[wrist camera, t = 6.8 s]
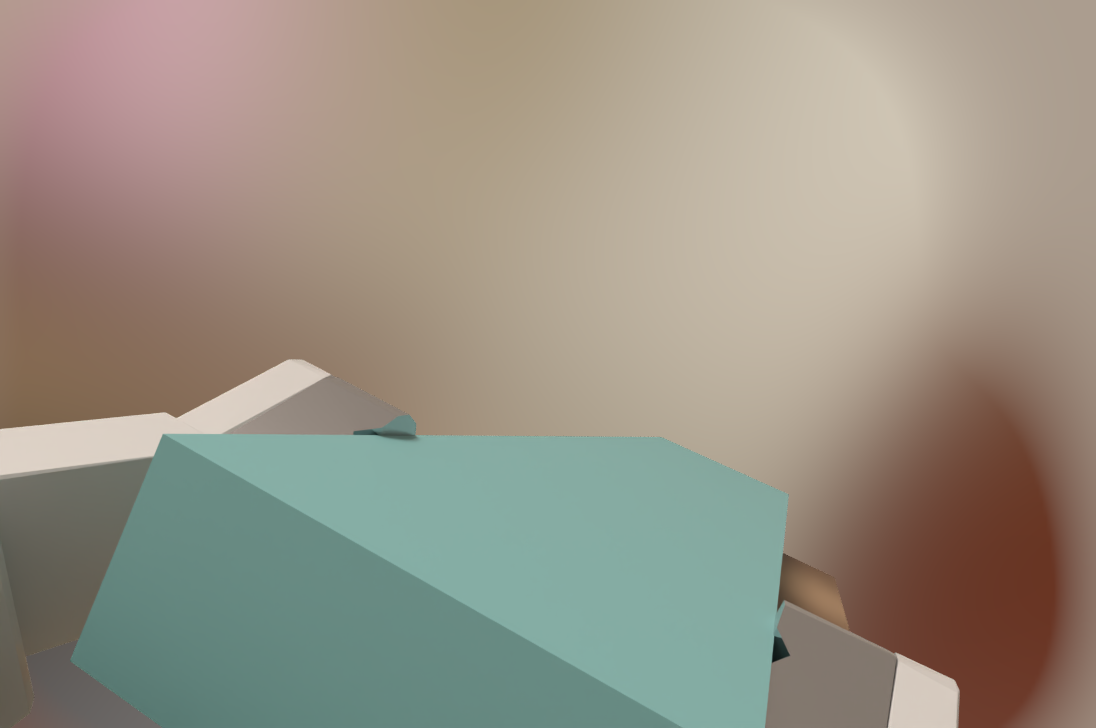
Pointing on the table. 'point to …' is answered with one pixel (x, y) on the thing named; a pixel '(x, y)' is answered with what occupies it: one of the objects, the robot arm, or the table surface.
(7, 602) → the robot arm
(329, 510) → the lid slat
